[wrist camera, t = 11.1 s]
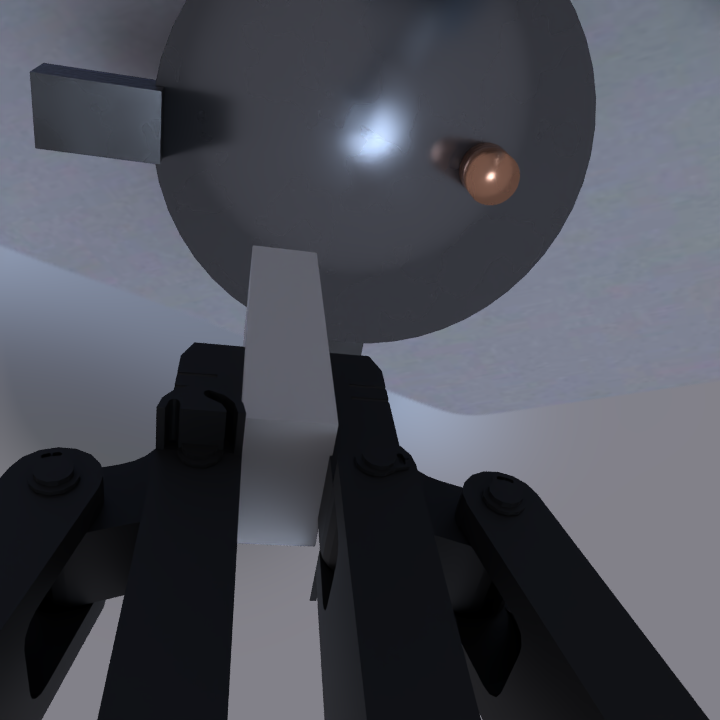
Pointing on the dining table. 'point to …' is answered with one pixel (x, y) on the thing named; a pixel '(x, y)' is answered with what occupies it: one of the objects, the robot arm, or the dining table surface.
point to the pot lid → (354, 144)
